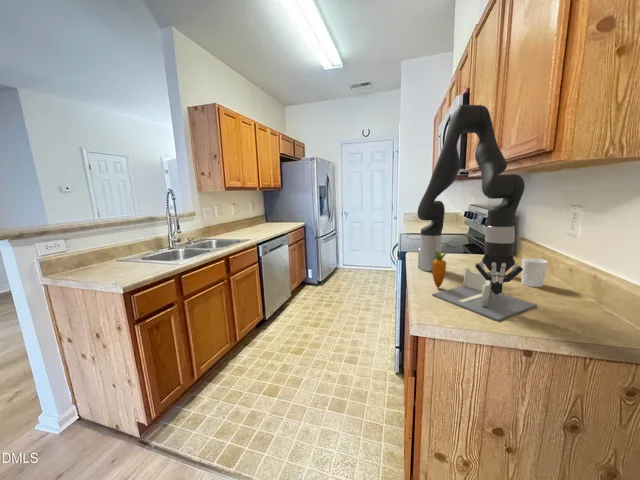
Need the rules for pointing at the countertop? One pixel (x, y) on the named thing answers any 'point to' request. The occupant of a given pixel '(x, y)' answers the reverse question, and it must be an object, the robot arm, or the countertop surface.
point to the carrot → (438, 269)
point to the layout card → (497, 303)
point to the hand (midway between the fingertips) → (496, 293)
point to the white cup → (533, 272)
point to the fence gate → (485, 293)
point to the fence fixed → (474, 279)
